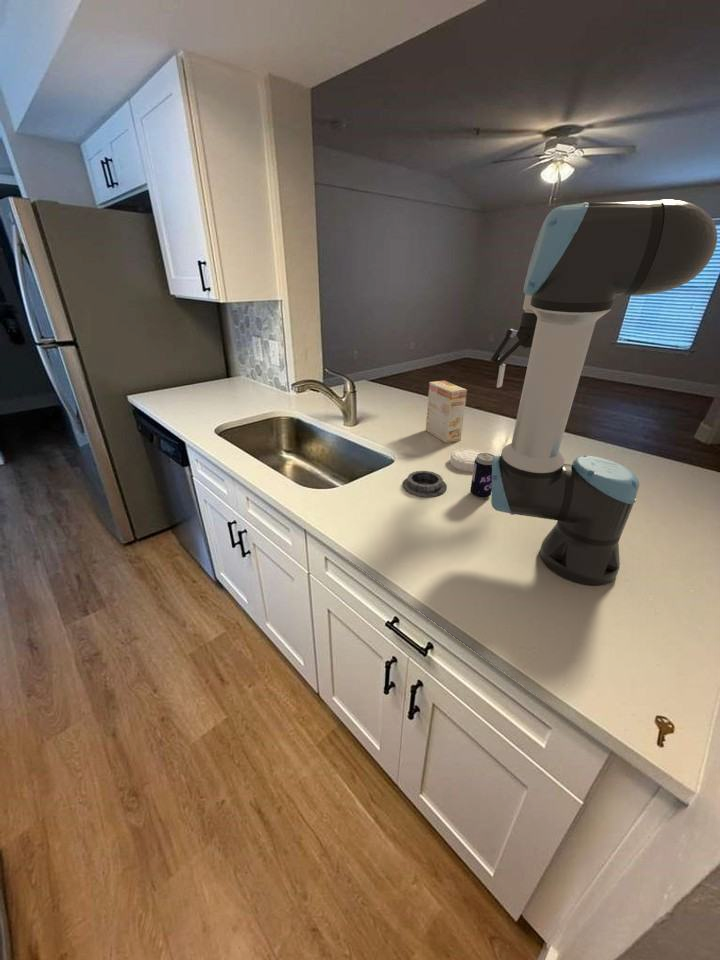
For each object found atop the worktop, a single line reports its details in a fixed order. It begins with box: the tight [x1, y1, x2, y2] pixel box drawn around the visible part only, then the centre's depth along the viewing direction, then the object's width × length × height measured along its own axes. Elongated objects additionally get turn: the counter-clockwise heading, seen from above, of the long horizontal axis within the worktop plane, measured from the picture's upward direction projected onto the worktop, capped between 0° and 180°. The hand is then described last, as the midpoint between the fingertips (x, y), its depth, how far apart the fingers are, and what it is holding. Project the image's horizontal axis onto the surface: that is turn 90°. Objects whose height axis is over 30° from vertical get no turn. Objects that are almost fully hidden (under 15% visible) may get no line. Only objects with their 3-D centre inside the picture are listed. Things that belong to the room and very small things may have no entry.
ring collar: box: [402, 470, 448, 498], centre depth 115 cm, size 13×13×3 cm
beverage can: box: [469, 452, 495, 500], centre depth 108 cm, size 6×6×12 cm
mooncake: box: [449, 448, 484, 473], centre depth 128 cm, size 12×12×4 cm
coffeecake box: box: [425, 380, 468, 444], centre depth 147 cm, size 15×7×20 cm, turn 22°
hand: (522, 390), depth 114 cm, fingers open, 13 cm apart
